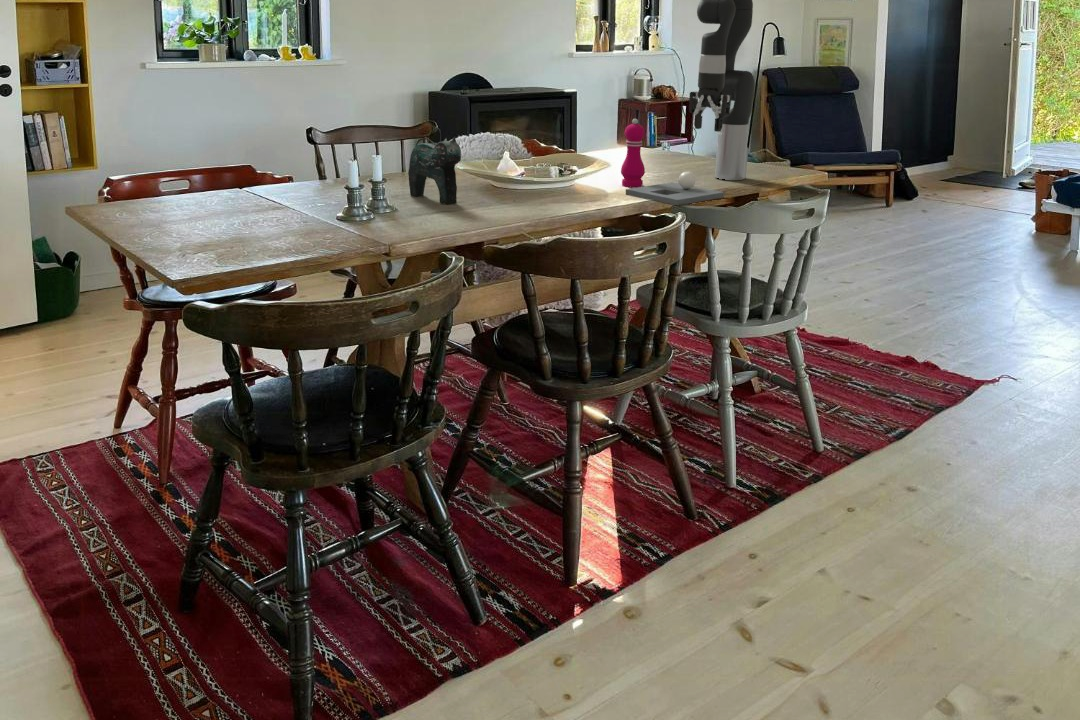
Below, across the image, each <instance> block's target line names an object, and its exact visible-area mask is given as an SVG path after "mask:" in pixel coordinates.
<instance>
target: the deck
mask: <svg viewBox="0 0 1080 720" xmlns="http://www.w3.org/2000/svg"><path fill="white" fill-rule="evenodd" d="M625 195H627V196H630V197H631V196H632V197H636V198H641V199H644V200H645V199H646V200H650V201H655V202H660V203H665V204H670V205H674V206H682V205H687V204H693V203H697V202H699V203H700V202H705V201H711V200H716V199H722V198H724V196H725V192H724V191H720V190H715V189H710V188H703V187H700V186H693V187H692V188H690V189H684V188H682V187H681V186H680V185H679V183H678V182H674V181H673V182H671V181H670V182H666V183H660V184H659V183H658V184H653V185H646V186H642V187H630V188H626V189H625Z"/></svg>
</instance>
